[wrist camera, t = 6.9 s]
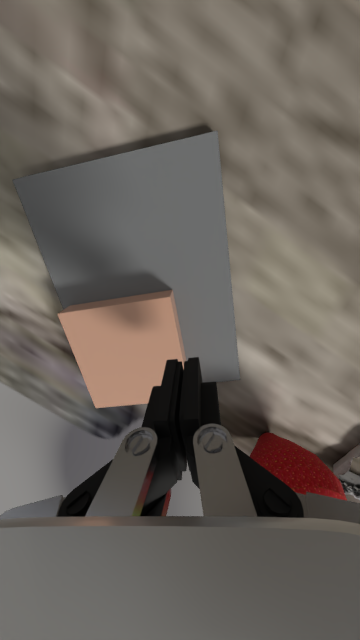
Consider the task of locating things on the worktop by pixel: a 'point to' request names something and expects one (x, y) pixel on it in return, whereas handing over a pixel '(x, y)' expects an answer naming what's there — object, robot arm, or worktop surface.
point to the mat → (143, 238)
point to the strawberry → (296, 467)
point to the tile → (124, 345)
